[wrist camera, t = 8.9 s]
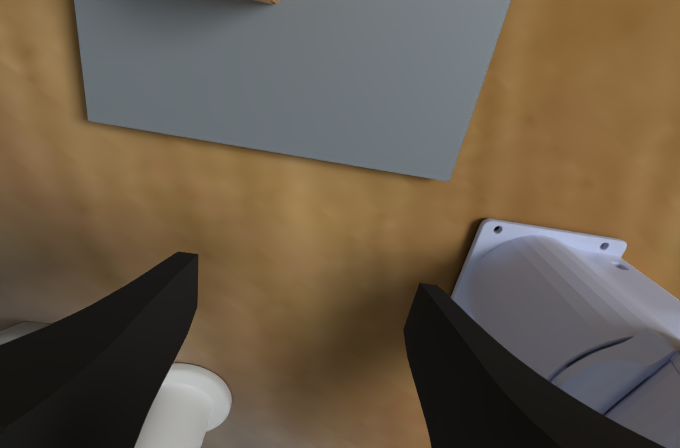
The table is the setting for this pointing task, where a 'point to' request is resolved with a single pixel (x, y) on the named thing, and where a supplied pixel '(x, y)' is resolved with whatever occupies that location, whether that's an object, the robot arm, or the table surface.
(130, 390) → the robot arm
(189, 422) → the candle
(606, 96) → the table surface
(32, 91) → the table surface
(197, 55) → the board
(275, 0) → the cap
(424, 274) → the table surface
